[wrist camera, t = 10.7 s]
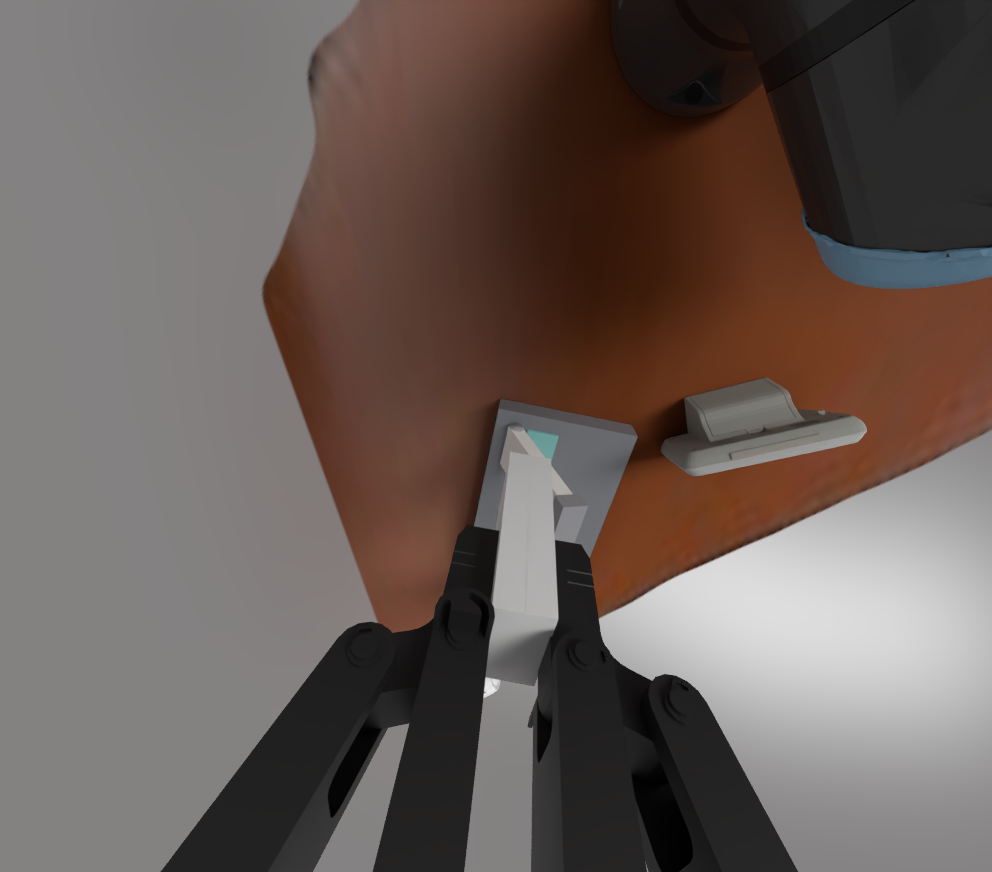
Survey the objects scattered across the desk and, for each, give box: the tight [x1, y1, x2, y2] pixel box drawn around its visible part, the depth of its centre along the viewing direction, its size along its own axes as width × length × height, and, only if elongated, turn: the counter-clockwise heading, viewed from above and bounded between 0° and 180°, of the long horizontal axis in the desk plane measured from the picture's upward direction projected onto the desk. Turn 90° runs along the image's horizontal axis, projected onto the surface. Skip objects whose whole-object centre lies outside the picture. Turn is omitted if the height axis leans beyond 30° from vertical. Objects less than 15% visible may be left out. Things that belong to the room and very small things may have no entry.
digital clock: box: [661, 378, 867, 476], centre depth 43 cm, size 16×9×11 cm, turn 96°
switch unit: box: [474, 399, 638, 558], centre depth 52 cm, size 16×24×3 cm, turn 169°
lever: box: [500, 423, 588, 543], centre depth 41 cm, size 2×5×15 cm, turn 170°
